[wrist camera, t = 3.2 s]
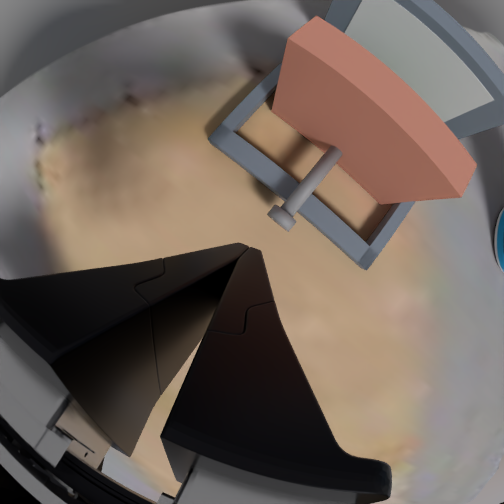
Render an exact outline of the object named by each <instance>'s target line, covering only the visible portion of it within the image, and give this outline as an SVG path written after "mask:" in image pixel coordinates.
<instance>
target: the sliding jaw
mask: <svg viewBox="0 0 504 504" xmlns="http://www.w3.org/2000/svg"><path fill="white" fill-rule="evenodd" d="M271 112H273V113H274V114H276V115H277V116H278V117H280V118H281V119H282V120H284V121H285V122H286V123H288V124H289V125H290V126H292V127H293V128H294V129H295V130H297V131H298V132H299V133H301V134H302V135H303V136H304V137H306V138H307V139H308V140H309V141H311V142H312V143H313V144H314V145H315V146H317V147H318V148H319V149H320V150H321V151H323V152H324V153H325V154H324V155H323V156H322V157H321V158H320V160H319V161H318V162H317V163H316V165H315V166H314V167H313V168H312V169H311V171H310V172H309V173H308V174H307V176H306V177H305V178H304V179H303V180H302V182H301V183H300V184H299V185H298V187H297V188H296V189H295V190H294V191H293V193H292V194H291V195H290V196H289V198H288V199H287V200H286V201H285V202H284V204H283V205H282V206H281V207H279V206H277V205H274V206H273V207H272V209H271V210H270V211H269V212H268V214H267V215H268V216H269V217H270V218H271V219H273V220H274V221H275V222H276V223H277V224H279V225H280V226H281V227H282V228H284V229H285V230H287V231H288V232H289V231H290V229H291V228H292V227H293V226H294V224H295V223H296V221H295V219H294V218H293V216H294V215H295V213H296V212H297V211H298V210H299V208H300V207H301V206H302V205H303V203H304V202H305V201H306V200H307V198H308V197H309V196H310V195H311V193H312V192H313V191H314V190H315V189H316V187H317V186H318V185H319V184H320V182H321V181H322V180H323V179H324V177H325V176H326V175H327V174H328V172H329V171H330V170H331V169H332V167H333V166H334V165H335V164H336V163H337V164H338V165H339V166H340V167H341V168H342V169H343V170H344V171H346V172H347V173H348V174H349V175H350V176H351V177H352V178H353V179H354V180H355V181H357V182H358V183H359V184H360V185H361V186H362V187H363V188H364V189H365V190H366V191H367V192H368V193H369V194H370V195H371V196H372V197H373V198H374V199H375V200H376V201H377V202H378V203H379V204H390V203H401V202H411V201H422V200H434V199H446V198H460V197H462V195H463V193H464V191H465V189H466V187H467V185H468V183H469V181H470V179H471V177H472V175H473V173H474V171H475V169H476V167H477V164H476V163H475V161H474V160H473V158H472V157H471V156H470V154H469V153H468V152H467V150H466V149H465V148H464V146H463V145H462V144H461V142H460V141H459V140H458V139H457V137H456V136H455V135H454V134H453V133H452V131H451V130H450V129H449V128H448V127H447V125H446V124H445V123H444V122H443V121H442V120H441V119H440V117H439V116H438V115H437V114H436V113H435V112H434V111H433V110H432V109H431V108H430V106H429V105H428V104H427V103H426V102H425V101H424V100H423V99H422V98H421V97H420V96H419V95H418V94H417V93H416V92H415V91H414V90H413V89H412V88H411V87H410V86H409V85H408V84H406V83H405V82H404V81H403V80H402V79H401V78H400V77H399V76H398V75H397V74H396V73H394V72H393V71H392V70H391V69H390V68H389V67H387V66H386V65H385V64H384V63H383V62H382V61H380V60H379V59H378V58H377V57H375V56H374V55H373V54H372V53H370V52H369V51H368V50H366V49H365V48H364V47H362V46H361V45H360V44H358V43H357V42H356V41H354V40H353V39H352V38H350V37H349V36H347V35H346V34H344V33H343V32H342V31H340V30H339V29H337V28H336V27H334V26H332V25H331V24H329V23H328V22H326V21H325V20H323V19H321V18H320V17H318V16H315V17H314V18H313V19H311V20H310V21H309V22H307V23H306V24H305V25H304V26H302V27H301V28H300V29H299V30H297V31H296V32H295V33H294V34H292V35H291V36H290V37H289V38H288V40H287V44H286V48H285V53H284V57H283V62H282V66H281V70H280V75H279V79H278V84H277V88H276V93H275V98H274V102H273V107H272V111H271Z"/></svg>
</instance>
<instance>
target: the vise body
mask: <svg viewBox="0 0 504 504" xmlns="http://www.w3.org/2000/svg"><path fill="white" fill-rule="evenodd" d="M325 21H326V22H328V23H329V24H331V25H332V26H334V27H336V28H337V29H339V30H340V31H342V32H343V33H344V34H346V35H347V36H349V37H350V38H352V39H353V40H354V41H356V42H357V43H358V44H360V45H361V46H362V47H364V48H365V49H366V50H368V51H369V52H370V53H372V54H373V55H374V56H375V57H377V58H378V59H379V60H380V61H382V62H383V63H384V64H385V65H386V66H387V67H389V68H390V69H391V70H392V71H393V72H394V73H396V74H397V75H398V76H399V77H400V78H401V79H402V80H403V81H404V82H405V83H406V84H408V85H409V86H410V87H411V88H412V89H413V90H414V91H415V92H416V93H417V94H418V95H419V96H420V97H421V98H422V99H423V100H424V101H425V102H426V103H427V104H428V105H429V106H430V108H431V109H432V110H433V111H434V112H435V113H436V114H437V115H438V116H439V117H440V119H441V120H442V121H443V122H444V123H445V124H446V125H447V127H448V128H449V129H450V130H451V131H452V133H453V134H454V135H455V136H456V137H457V139H461V138H464V137H467V136H470V135H473V134H476V133H479V132H482V131H485V130H488V129H491V128H494V127H497V126H500V125H503V124H504V74H503V73H502V71H501V70H500V69H499V68H498V66H497V65H496V64H495V63H494V61H493V60H492V59H491V58H490V57H489V55H488V54H487V53H486V52H485V51H484V50H483V48H482V47H481V46H480V45H479V44H478V43H477V42H476V41H475V40H474V38H473V37H472V36H471V35H470V34H469V33H468V32H467V31H466V30H465V29H464V28H463V27H462V26H461V25H460V24H459V23H458V22H457V21H455V19H453V18H452V17H451V16H450V15H449V14H448V13H447V12H446V11H445V10H444V9H442V8H441V7H440V6H439V5H438V4H436V3H435V2H434V1H433V0H332V3H331V5H330V8H329V10H328V13H327V15H326V18H325ZM282 62H283V61H282ZM282 62H281V63H280V64H279V65H278V66H277V67H276V68H275V69H274V70H273V71H272V72H271V73H270V74H269V75H268V76H267V77H266V78H265V79H264V80H263V81H261V82H260V83H259V84H258V85H257V86H256V87H255V88H254V89H253V90H252V91H251V92H250V94H249V95H248V96H247V97H246V98H245V99H244V100H243V101H242V102H241V103H240V104H239V105H238V106H237V107H236V108H235V109H234V110H233V111H232V112H231V113H230V115H229V116H228V117H227V118H226V119H225V120H224V121H223V122H222V123H221V124H220V126H219V127H218V128H217V129H216V130H215V131H214V132H213V133H212V135H211V136H210V137H209V138H208V140H209V142H210V143H211V144H212V145H213V146H215V147H216V148H217V149H219V150H220V151H221V152H223V153H224V154H225V155H227V156H228V157H229V158H230V159H232V160H233V161H234V162H236V163H237V164H238V165H240V166H241V167H242V168H243V169H245V170H246V171H247V172H249V173H250V174H251V175H252V176H254V177H255V178H256V179H258V180H259V181H260V182H261V183H263V184H264V185H265V186H266V187H268V188H269V189H270V190H271V191H272V192H274V193H275V194H276V195H277V196H279V197H280V198H281V199H282V200H283V201H286V200H287V199H288V198H289V196H290V195H291V194H292V193H293V191H294V190H295V189H296V188H297V187H298V185H299V184H300V183H298V182H297V181H296V180H295V179H293V178H292V177H291V176H290V175H289V174H287V173H286V172H285V171H284V170H282V169H281V168H280V167H279V166H277V165H276V164H275V163H274V162H272V161H271V160H270V159H269V158H267V157H266V156H265V155H263V154H262V153H261V152H260V151H258V150H257V149H256V148H254V147H253V146H252V145H250V144H249V143H248V142H246V141H245V140H244V139H242V138H241V137H240V136H238V135H237V134H236V132H237V131H238V130H239V129H240V128H241V126H242V125H243V124H244V123H245V122H246V121H247V120H248V119H249V118H250V117H251V116H252V114H253V113H254V112H255V111H256V110H257V109H258V108H259V107H260V106H261V105H262V104H263V103H264V102H265V101H266V100H267V99H268V98H269V97H270V95H271V94H272V93H273V92H274V91H275V90H276V88H277V84H278V79H279V75H280V70H281V66H282ZM414 203H415V201H411V202H401V203H394V204H393V205H392V207H391V208H390V210H389V211H388V212H387V214H386V215H385V217H384V218H383V219H382V221H381V222H380V224H379V225H378V226H377V228H376V229H375V230H374V232H373V233H372V235H371V236H370V237H369V239H368V240H367V241H366V242H365V241H364V240H363V239H361V238H360V237H359V236H358V235H357V234H356V233H355V232H354V231H353V230H352V229H351V228H350V227H349V226H348V225H346V224H345V223H344V222H343V221H342V220H341V219H340V218H339V217H338V216H337V215H335V214H334V213H333V212H332V211H331V210H330V209H329V208H328V207H326V206H325V205H324V204H323V203H322V202H321V201H320V200H318V199H317V198H316V197H315V196H314V195H313V194H311V195H310V196H309V197H308V198H307V200H306V201H305V202H304V203H303V205H302V206H301V207H300V208H299V210H298V211H297V212H298V213H299V214H300V215H301V216H303V217H304V218H305V219H306V220H307V221H309V222H310V223H311V224H312V225H313V226H314V227H316V228H317V229H318V230H319V231H320V232H321V233H322V234H324V235H325V236H326V237H327V238H328V239H329V240H330V241H332V242H333V243H334V244H335V245H336V246H337V247H338V248H339V249H341V250H342V251H343V252H344V253H345V254H346V255H347V256H348V257H349V258H351V259H352V260H353V261H354V262H355V263H356V264H357V265H358V266H359V267H360V268H362V269H365V270H367V269H368V268H369V267H370V265H371V264H372V263H373V261H374V260H375V259H376V257H377V256H378V255H379V253H380V252H381V251H382V249H383V248H384V247H385V245H386V244H387V242H388V241H389V240H390V238H391V237H392V235H393V234H394V233H395V231H396V230H397V228H398V227H399V225H400V224H401V222H402V221H403V219H404V218H405V216H406V215H407V213H408V212H409V210H410V209H411V207H412V206H413V204H414Z"/></svg>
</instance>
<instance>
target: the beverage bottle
mask: <svg viewBox="0 0 504 504" xmlns="http://www.w3.org/2000/svg"><path fill="white" fill-rule="evenodd" d="M494 247H495V255H496V259H497V263H498V265H499V267H500V269H501V270H502V271H503V272H504V208H503V209H502V211H501V212H500V214H499V217H498V219H497V223H496V228H495V236H494Z"/></svg>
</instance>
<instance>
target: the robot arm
mask: <svg viewBox="0 0 504 504" xmlns="http://www.w3.org/2000/svg"><path fill="white" fill-rule="evenodd" d="M202 338H203V339H202ZM201 339H202V341H201V343H200V345H199V348H198V350H197V352H196V354H195V357H194V359H193V361H192V364H191V366H190V368H189V370H188V373H187V375H186V377H185V380H184V382H183V384H182V386H181V389H180V391H179V393H178V396H177V398H176V400H175V403H174V405H173V407H172V410H171V412H170V414H169V417H168V419H167V421H166V423H165V426H164V428H163V431H162V433H161V435H160V437H161V440H162V443H163V446H164V449H165V452H166V455H167V457H168V460H169V463H170V465H171V468H172V470H173V473H174V475H175V478H176V480H177V481H179V482H181V483H182V485H181V487H180V489H179V491H178V493H177V495H176V497H173V496H170V495H168V494H166V493H162V494H161V496H160V498H159V500H158V502H157V503H156V502H154V501H152V500H150V499H148V498H146V497H144V496H142V495H140V494H138V493H136V492H134V491H132V490H131V489H129V488H127V487H125V486H123V485H122V484H120V483H118V482H116V481H115V480H113V479H111V478H110V477H108V476H107V475H105V474H103V473H102V472H101V471H102V466H103V461H104V456H105V455H106V453H107V451H108V450H109V448H110V446H111V447H113V448H115V449H116V450H118V451H120V452H121V453H123V454H125V455H127V456H128V457H130V456H131V454H132V453H133V450H134V448H135V446H136V444H137V441H138V439H139V437H140V435H141V433H142V430H143V428H144V426H145V424H146V422H147V420H148V417H149V415H150V413H151V411H152V409H153V407H154V406H155V404H156V402H157V401H158V399H159V398H160V395H162V394H163V392H164V391H165V389H166V388H167V387H168V385H169V384H170V382H171V381H172V380H173V378H174V377H175V375H176V374H177V373H178V371H179V370H180V369H181V367H182V366H183V364H184V363H185V362H186V360H187V359H188V357H189V356H190V355H191V353H192V352H193V350H194V349H195V347H196V346H197V345H198V343H199V342H200V340H201ZM391 488H392V473H391V468H390V466H389V465H388V464H387V463H385V462H383V461H379V460H374V459H368V458H361V457H356V456H352V455H350V454H348V453H346V452H345V451H344V450H343V449H342V448H341V447H339V445H338V443H337V442H336V440H335V438H334V436H333V434H332V431H331V429H330V427H329V425H328V423H327V421H326V419H325V416H324V414H323V412H322V410H321V408H320V406H319V404H318V401H317V399H316V397H315V395H314V393H313V391H312V389H311V386H310V384H309V382H308V380H307V378H306V376H305V374H304V371H303V369H302V367H301V365H300V363H299V361H298V359H297V356H296V354H295V352H294V350H293V348H292V346H291V343H290V341H289V339H288V337H287V335H286V333H285V330H284V328H283V325H282V323H281V320H280V317H279V314H278V311H277V307H276V303H275V301H274V297H273V293H272V289H271V286H270V282H269V278H268V274H267V270H266V267H265V263H264V259H263V255H262V252H261V250H258V249H255V248H253V247H250V248H249V246H247V245H244V244H242V243H233V244H229V245H224V246H219V247H214V248H209V249H204V250H199V251H195V252H190V253H185V254H180V255H175V256H171V257H166V258H163V259H162V258H159V259H155V260H150V261H144V262H139V263H132V264H126V265H118V266H111V267H103V268H95V269H88V270H80V271H73V272H65V273H57V274H50V275H42V276H35V277H27V278H20V279H12V280H6V279H1V278H0V504H370V503H375V502H380V501H384V500H387V499H388V498H389V497H390V495H391ZM500 504H504V502H503V503H500Z"/></svg>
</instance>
